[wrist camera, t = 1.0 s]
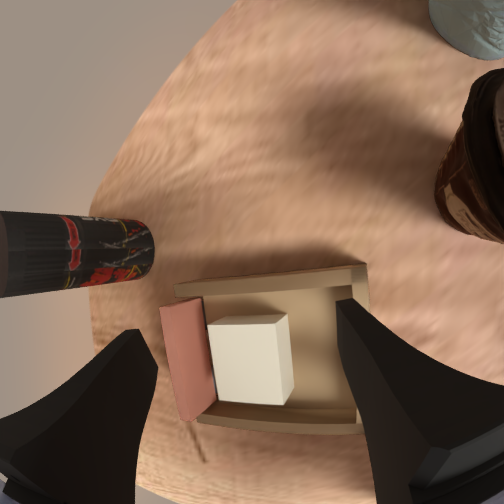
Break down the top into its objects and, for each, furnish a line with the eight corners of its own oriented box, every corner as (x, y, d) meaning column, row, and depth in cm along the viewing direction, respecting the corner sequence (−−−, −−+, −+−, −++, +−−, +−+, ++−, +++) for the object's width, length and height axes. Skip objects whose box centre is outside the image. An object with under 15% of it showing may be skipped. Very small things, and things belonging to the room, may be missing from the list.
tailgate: (222, 394, 25) (191, 421, 20) (213, 393, 26) (180, 419, 21) (208, 295, 26) (169, 307, 20) (198, 296, 26) (159, 307, 21)
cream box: (294, 387, 22) (283, 405, 19) (235, 384, 24) (219, 400, 21) (287, 313, 22) (275, 323, 19) (226, 316, 24) (207, 325, 21)
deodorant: (152, 216, 28) (8, 202, 14) (157, 279, 28) (12, 300, 14) (112, 224, 30) (-16, 218, 16) (115, 280, 30) (-13, 296, 16)
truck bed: (371, 410, 21) (369, 433, 17) (216, 405, 26) (197, 422, 23) (366, 263, 21) (366, 266, 18) (197, 279, 26) (173, 284, 23)
